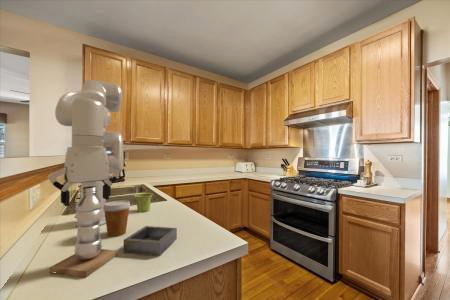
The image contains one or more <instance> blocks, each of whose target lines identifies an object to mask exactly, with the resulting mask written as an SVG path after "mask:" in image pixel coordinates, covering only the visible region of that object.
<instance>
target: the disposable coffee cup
mask: <svg viewBox="0 0 450 300" xmlns="http://www.w3.org/2000/svg"><path fill="white" fill-rule="evenodd" d="M130 208H131V204H130V201H129V200H125V199H124V200H112V201H108V202H106V203H105V204H104V207H103V209H104V211H105V219H106V223H105V225H106V232H107V237H110V238H115V237H120V236H123V235H125V234H126V233H127V227H128V226H127V225H128V220H129V219H128V218H129V212H130Z"/></svg>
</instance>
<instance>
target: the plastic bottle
mask: <svg viewBox="0 0 450 300" xmlns="http://www.w3.org/2000/svg"><path fill="white" fill-rule="evenodd" d="M96 193H97V186H88V187H82V193H81V192H80V195H81V194H82V195H83V196H82V197H81V196H80V199H79V200H78V201H77V203H76V205H75V215H77V218H76V221H77V222H76V223H77V225H78V227H77V233H76V241H75V245H74V254H75V256H76V258H77V259H79V260H87V259H91V258H94V257H96V256H97V255H98V254H99V253H100V251H101V249H103V248H102V247H103V244H102V238H101V228H100V226H101V225H100V215H101V209H102V202H101V200H100V199H99V198H98V196H97V195H96Z"/></svg>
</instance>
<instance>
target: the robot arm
mask: <svg viewBox="0 0 450 300" xmlns="http://www.w3.org/2000/svg"><path fill="white" fill-rule="evenodd" d="M122 103H123V91H122V88H121V87H120V85H119V84H117V83H115V82H108V81H102V80H96V79H88V80H86V81H85V82H83V84H82V85H81V89H80V90H77V91H73V92H68V93H65V94H63V95H61V96H60V98H59V99H58V101H57V104H56V106H55V112H54V114H55V119H56V122H57V123H59V125H61V126H64V127H71V146H69V147H67V148H66V153H65V158H64V159H65V160H64V167H63V168H61V169H59V170H57V171H54V172H52V173H50V174H48V175H47V176H46V177H47V179H48V180H49V182H50V183H51V185H52V186H53V187H54V188H56V189H57V190H59V191H60V203H61V204H63V206H64V207H69V206H70V198H71V197H70V196H71V195H70V191H69V189H70V187H72V185H74V184H80V198H81V197H82V196H83V195H82V194H81V193H82V187H88V186H97V193H96V195H97V196H98V198H99V199H100V200H101V202H102V209H101V215H100V226H102V225H106V219H105V211H104V209H103V207H104V204H105V203H107V201H108V200H109V199H110V196H111V188H112V186H113V183H115V181H117V180H118V176H119V175H120V173H121V172H122V171H123V170H124V161H125V160H124V155H125V154H124V138H123V135H122V134H121V133H120V132H119V131H109V130H108V131H107V130H106V129H107V127H108V126H109V125H110V124H111V121H112V114H111V113H118V112H120V111H121V109H122ZM110 152H111V153H110ZM110 174H112V176H111V177H110V178H109V175H110ZM60 176H63V179H64V182H62V183H61V182H59V180H58V178H59V177H60ZM74 219H77V215H76V214H75V215H74ZM75 225H76V226H75V227H76V228H78V225H77V222H76V223H75Z"/></svg>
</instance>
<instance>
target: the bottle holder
mask: <svg viewBox="0 0 450 300" xmlns="http://www.w3.org/2000/svg"><path fill="white" fill-rule="evenodd" d="M177 228H178V227H169V226H168V227H166V226H153V225H145V226H144V227H142V228H140V229H139V230H137V231H136V232H134V233H132V234H131V235H129V236H127V237H126V238H124V239H123V254H133V255H141V256H142V255H144V256H145V255H146V256H155V257H156V256H157V257H161V256H162V255H163V254H164V253H165V252H166V251H167V249H168V248H170V247H171V246H172V245H173V243H174V242H175V241H176V240H177V239H178V236H177V235H178V231H177ZM152 239H153V240H152Z"/></svg>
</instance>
